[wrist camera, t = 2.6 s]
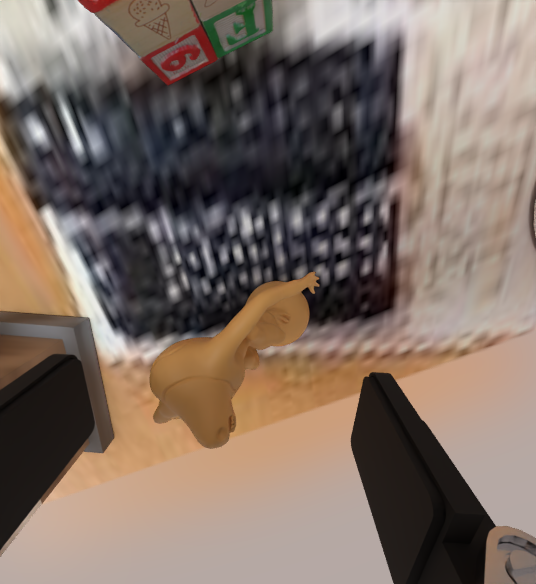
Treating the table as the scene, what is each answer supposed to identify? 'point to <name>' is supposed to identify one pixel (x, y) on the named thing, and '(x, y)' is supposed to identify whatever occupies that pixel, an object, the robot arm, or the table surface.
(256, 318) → the figurine
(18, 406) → the robot arm
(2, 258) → the table surface
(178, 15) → the stack of blocks
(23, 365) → the white square block
